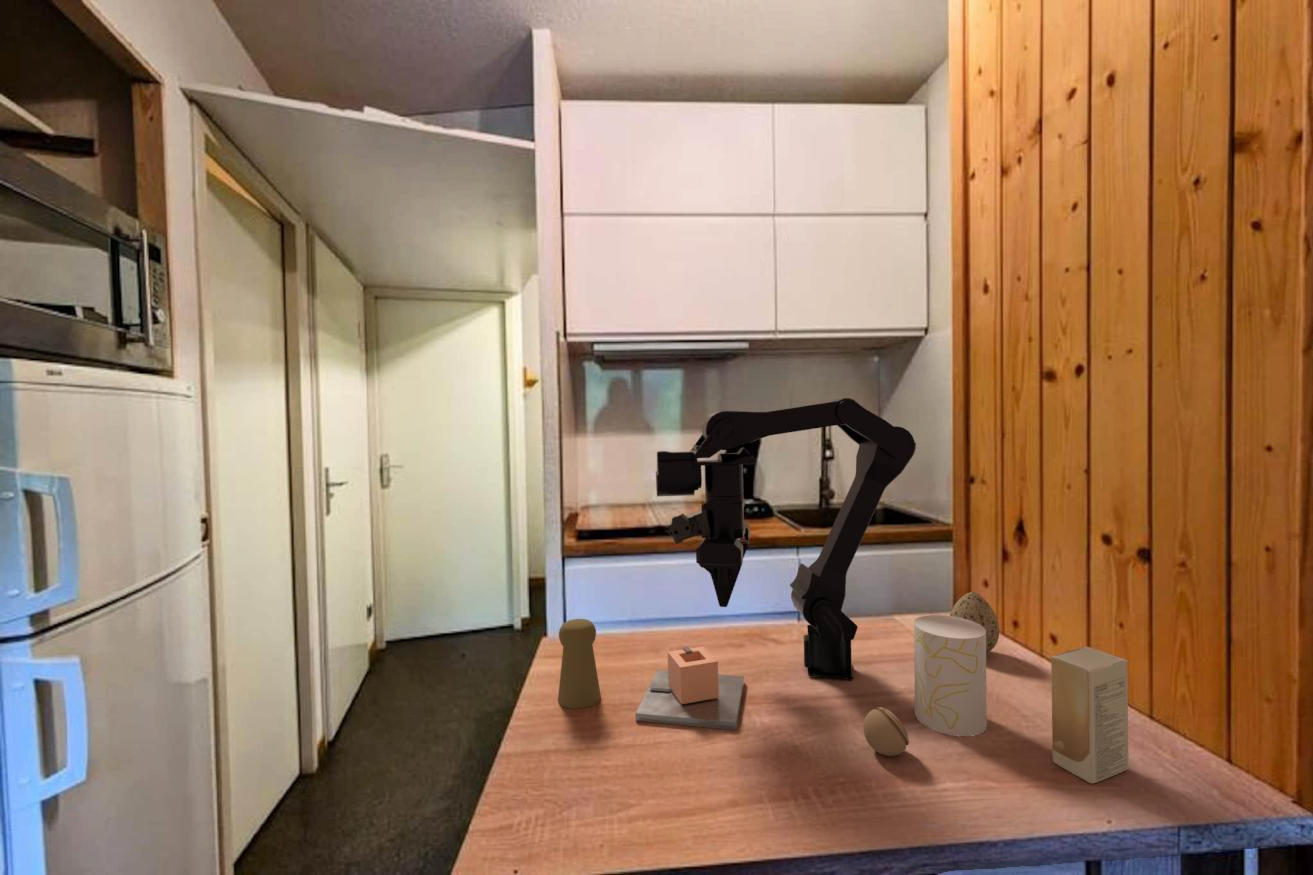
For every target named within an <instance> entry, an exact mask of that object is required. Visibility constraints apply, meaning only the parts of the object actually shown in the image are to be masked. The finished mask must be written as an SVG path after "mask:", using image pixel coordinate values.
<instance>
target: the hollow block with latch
mask: <svg viewBox="0 0 1313 875" xmlns="http://www.w3.org/2000/svg"><path fill="white" fill-rule="evenodd" d="M667 671H668V680H669V688H670V689H671V691H672V692H673V693H674V695H675V696H676V698H677V699H678V700H679V702H680V703H681V704H686V703H692V702H697V701H703V700H708V699H714V698H719V686H718V674H719V661H718V660H717V659H716V658H715V656H713V655H712V654H711V653H710V652H709V651H708V650H707V648H706V647H704V646H698V647H690V646H683V647H682V649H679V650H672V651H667Z"/></svg>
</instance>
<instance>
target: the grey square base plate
mask: <svg viewBox="0 0 1313 875" xmlns="http://www.w3.org/2000/svg"><path fill="white" fill-rule="evenodd" d="M744 685H745V676H743V675H734V674H733V675H730V674H719V673H718V686H719V698H714V699H708V700H703V701H697V702H692V703H686V704H681V703H680V702H679V700H678V699H677V698H676V696H675V695H674V693H673V692H672V691H671V689H670V688H669V680H668V670H664V669H663V670H662V669H657V671H656V673H655V675H654V676H653V679H652V681H651V682H650V685H649V686H648V689H647V690H646V692H645V694H644V696H643V698H642V700H641V701H640V704H639V705H638V708H637V710H636V711H635V721H636V722H646V723H657V724H666V725H677V726H687V727H696V728H697V727H698V728H709V729H719V730H727V731H728V730H729V731H737V725H738V721H739V714H740V709H741V703H742V696H743V692H744Z"/></svg>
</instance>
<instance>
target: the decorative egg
mask: <svg viewBox="0 0 1313 875" xmlns="http://www.w3.org/2000/svg"><path fill="white" fill-rule="evenodd" d="M949 616H953V617H959V618H963V619H967V620H970V621H973V622H976V623H978V624H980V625H981V626H983V627H984V628H985V630H986V654H987V653H989V652H991V651H992V650H993V649H994V648H995V647H996V646H997V644H998V642H999V637H1000V626H999V621H998V617H997V615H996V613H995V611H994V610H993V608H992V606H991V605H990V604H989V602H988V601H987V600H986V599H985V598H984V597H983V596H982V595H981V594H980V593H978V592H975V591H970V592H967V593H965V594H964V595H963V596H961V597H960V598H959V599H958V600H957V602H956V603H955V604H954V605H953V607H952V609H951V611H950V615H949Z"/></svg>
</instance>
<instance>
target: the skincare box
mask: <svg viewBox="0 0 1313 875" xmlns="http://www.w3.org/2000/svg"><path fill="white" fill-rule="evenodd" d="M1050 660H1051V665H1050V667H1051V670H1050V672H1051V721H1052V722H1051V728H1052V729H1051V730H1052V731H1051V732H1052V734H1051V736H1052V737H1051V738H1052V739H1051V740H1052V741H1051V742H1052V762H1053V763H1054V764H1055V765H1057V766H1059V767H1061V768H1062V769H1065V770H1066V771H1068V772H1069V773H1072V774H1074V775H1075V776H1077V777H1078V778H1081V779H1082V780H1084V781H1085V782H1087V783H1089V784H1095V783H1099V782H1101V781H1104V780H1106V779H1109V778H1111V777H1113V776H1114V777H1115V776H1116V775H1119V774H1121V773H1123V772H1125V771H1127V770H1129V767H1130V766H1129V765H1130V764H1129V760H1130V759H1129V756H1130V755H1129V754H1130V753H1129V689H1128V688H1129V687H1128V686H1129V685H1128V681H1129V679H1128V677H1129V676H1128V660H1127V659H1125V658H1121V657H1118V656H1117V655H1116V656H1115V655H1113V654H1110V653H1108V652H1105V651H1102V650H1099V649H1096V648H1092V647H1090V646H1084V647H1080V648H1075V649H1071V650H1068V651H1065V652H1062V653H1058V654H1055V655H1052V656H1051V658H1050Z"/></svg>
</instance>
